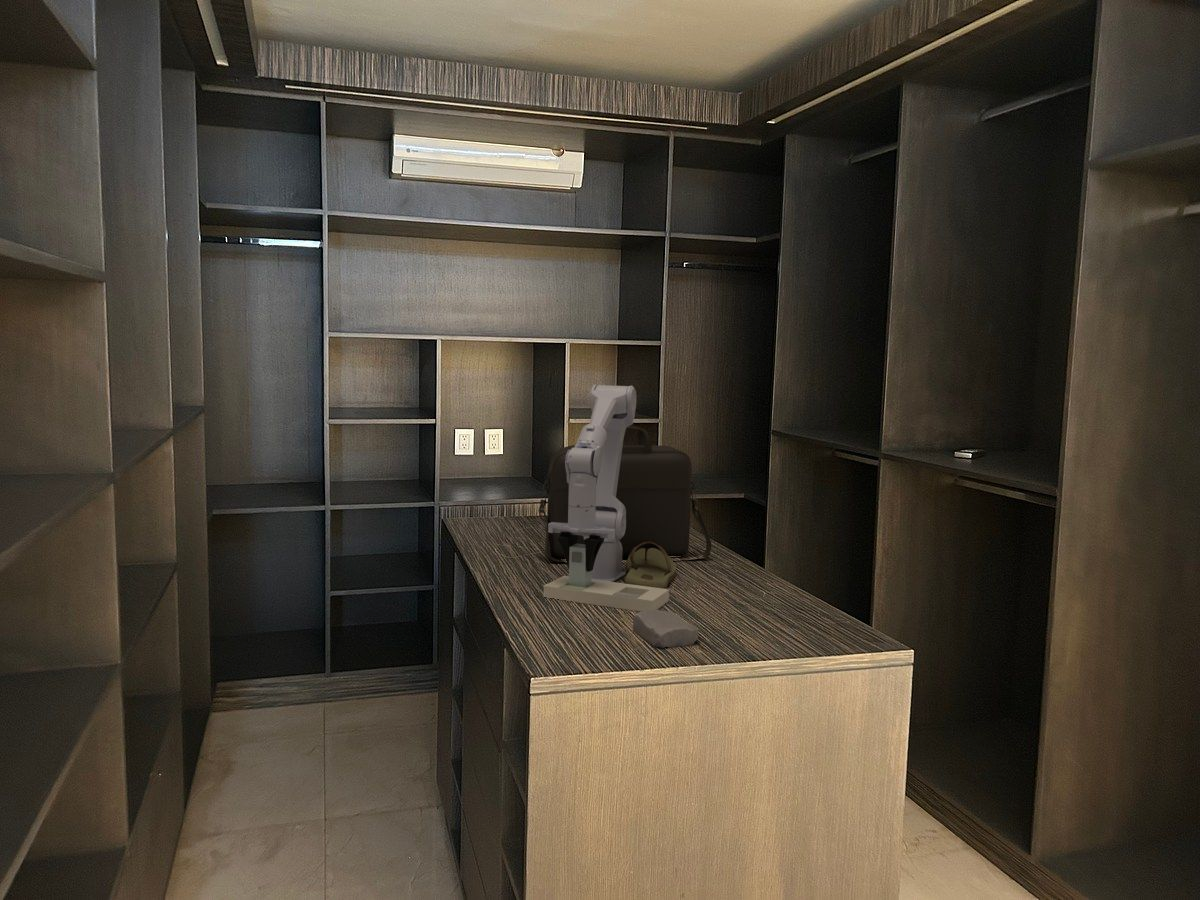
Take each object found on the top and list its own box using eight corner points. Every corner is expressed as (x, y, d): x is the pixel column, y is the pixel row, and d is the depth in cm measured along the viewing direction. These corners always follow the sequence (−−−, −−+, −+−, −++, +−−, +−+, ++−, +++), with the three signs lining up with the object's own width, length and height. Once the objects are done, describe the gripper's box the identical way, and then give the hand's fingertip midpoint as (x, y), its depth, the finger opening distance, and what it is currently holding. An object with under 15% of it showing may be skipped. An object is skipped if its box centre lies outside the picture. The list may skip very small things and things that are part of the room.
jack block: (564, 586, 203) (564, 574, 202) (668, 601, 193) (669, 588, 193) (543, 597, 193) (543, 584, 193) (652, 613, 184) (652, 599, 184)
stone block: (673, 635, 176) (626, 630, 173) (679, 611, 176) (632, 605, 172) (703, 657, 166) (653, 652, 162) (709, 631, 165) (659, 625, 161)
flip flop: (629, 565, 226) (630, 531, 226) (678, 568, 225) (679, 533, 224) (613, 595, 198) (614, 556, 197) (669, 599, 196) (670, 560, 195)
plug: (575, 585, 198) (576, 543, 197) (591, 587, 196) (592, 545, 196) (567, 589, 194) (568, 547, 193) (583, 591, 193) (584, 549, 192)
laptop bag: (696, 550, 244) (701, 424, 240) (712, 561, 232) (717, 429, 228) (533, 553, 235) (536, 422, 232) (541, 564, 223) (544, 427, 219)
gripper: (542, 504, 193) (540, 569, 194) (606, 511, 187) (604, 577, 189) (557, 500, 199) (555, 562, 201) (619, 506, 194) (618, 570, 195)
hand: (580, 569), depth 195 cm, fingers closed on plug, 4 cm apart
